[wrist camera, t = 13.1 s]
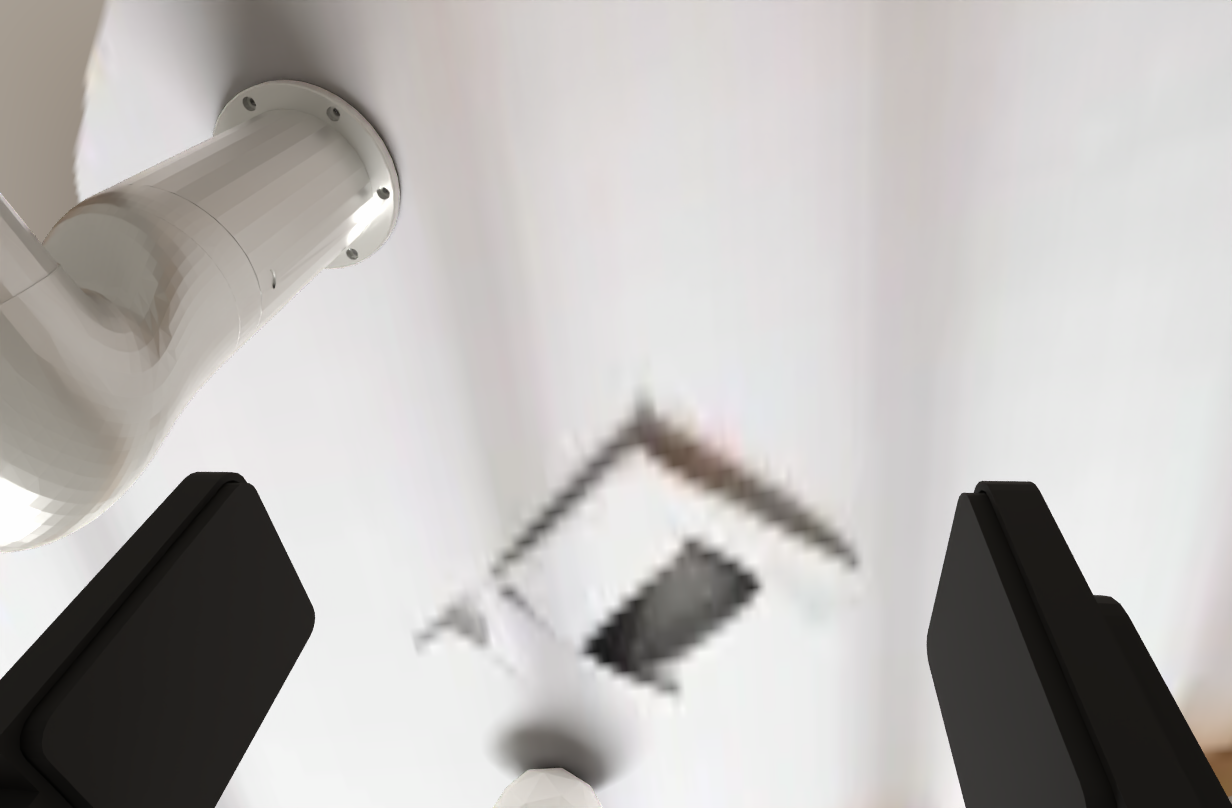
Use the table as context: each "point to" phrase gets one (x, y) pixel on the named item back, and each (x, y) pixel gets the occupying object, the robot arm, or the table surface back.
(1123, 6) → the table surface
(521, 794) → the geometric sphere
